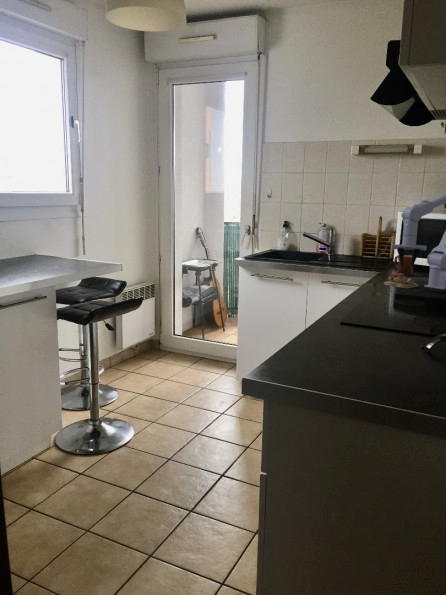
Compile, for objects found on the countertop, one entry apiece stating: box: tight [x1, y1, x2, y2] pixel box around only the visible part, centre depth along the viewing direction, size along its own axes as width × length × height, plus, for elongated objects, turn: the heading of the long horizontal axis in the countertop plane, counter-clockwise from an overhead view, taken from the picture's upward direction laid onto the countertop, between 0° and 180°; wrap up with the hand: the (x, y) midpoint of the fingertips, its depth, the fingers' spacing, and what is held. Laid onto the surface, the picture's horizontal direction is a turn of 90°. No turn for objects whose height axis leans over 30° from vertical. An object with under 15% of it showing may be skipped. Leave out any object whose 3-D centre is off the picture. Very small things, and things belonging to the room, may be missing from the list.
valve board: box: [383, 276, 419, 289], centre depth 231 cm, size 12×9×4 cm
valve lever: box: [389, 273, 405, 278], centre depth 229 cm, size 9×2×1 cm, turn 129°
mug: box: [393, 254, 414, 277], centre depth 263 cm, size 12×9×10 cm
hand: (407, 265), depth 221 cm, fingers open, 4 cm apart
